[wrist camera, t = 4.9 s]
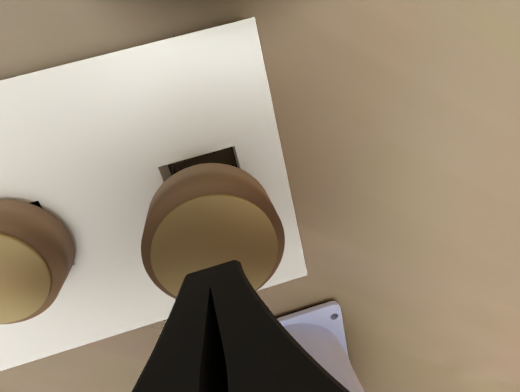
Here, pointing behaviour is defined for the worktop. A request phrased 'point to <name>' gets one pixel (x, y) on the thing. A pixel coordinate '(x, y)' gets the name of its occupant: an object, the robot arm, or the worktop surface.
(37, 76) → the mount plate
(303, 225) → the worktop surface
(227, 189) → the knob
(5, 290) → the knob middle
